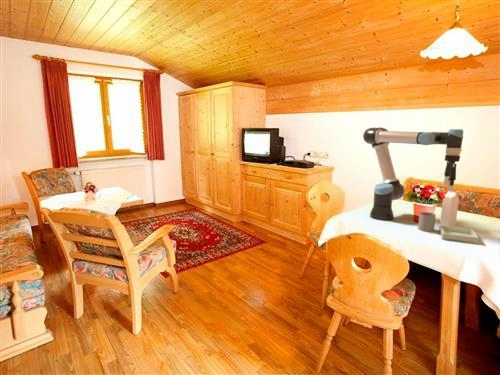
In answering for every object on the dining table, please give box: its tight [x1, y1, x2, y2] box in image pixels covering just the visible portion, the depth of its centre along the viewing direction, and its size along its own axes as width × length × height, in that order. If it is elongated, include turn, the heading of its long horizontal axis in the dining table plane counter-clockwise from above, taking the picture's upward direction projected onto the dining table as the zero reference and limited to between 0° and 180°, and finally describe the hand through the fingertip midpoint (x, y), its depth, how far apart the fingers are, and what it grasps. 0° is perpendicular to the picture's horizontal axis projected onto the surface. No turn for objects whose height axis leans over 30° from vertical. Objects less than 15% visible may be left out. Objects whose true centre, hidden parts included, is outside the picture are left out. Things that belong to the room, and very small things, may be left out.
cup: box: [417, 211, 437, 233], centre depth 179 cm, size 8×8×10 cm
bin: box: [438, 224, 479, 245], centre depth 167 cm, size 16×16×4 cm
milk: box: [439, 190, 460, 227], centre depth 186 cm, size 6×6×22 cm
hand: (447, 188), depth 184 cm, fingers open, 13 cm apart
